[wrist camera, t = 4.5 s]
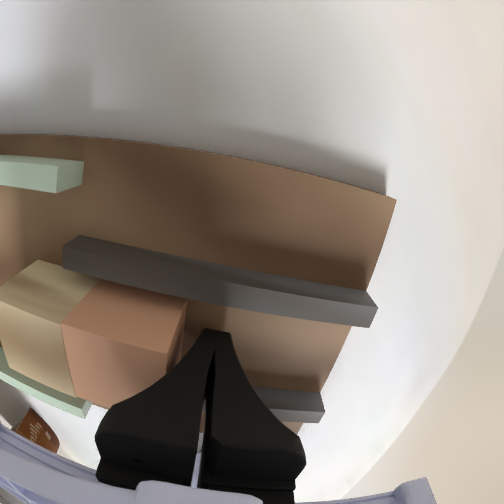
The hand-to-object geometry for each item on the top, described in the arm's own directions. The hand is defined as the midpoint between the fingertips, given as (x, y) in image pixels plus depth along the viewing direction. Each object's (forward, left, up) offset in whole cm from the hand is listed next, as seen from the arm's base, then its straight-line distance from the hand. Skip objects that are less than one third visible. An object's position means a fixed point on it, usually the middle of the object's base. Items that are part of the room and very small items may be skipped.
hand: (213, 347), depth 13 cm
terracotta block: (0, +3, -1) cm, 4 cm away
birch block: (0, +7, -1) cm, 8 cm away
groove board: (0, +6, -2) cm, 6 cm away
